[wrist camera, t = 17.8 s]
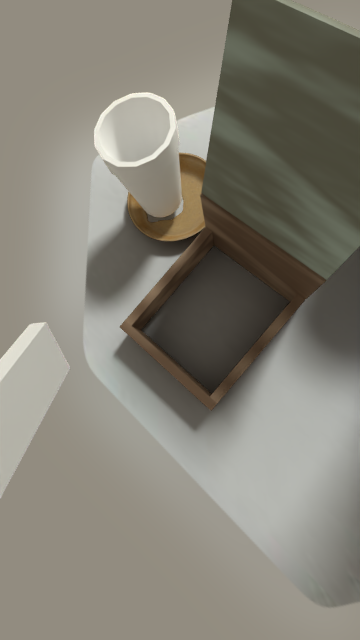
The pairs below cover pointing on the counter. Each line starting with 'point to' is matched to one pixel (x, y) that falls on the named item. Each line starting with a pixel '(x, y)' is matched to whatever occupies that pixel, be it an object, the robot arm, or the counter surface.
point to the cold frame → (275, 166)
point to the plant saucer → (192, 207)
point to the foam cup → (143, 150)
